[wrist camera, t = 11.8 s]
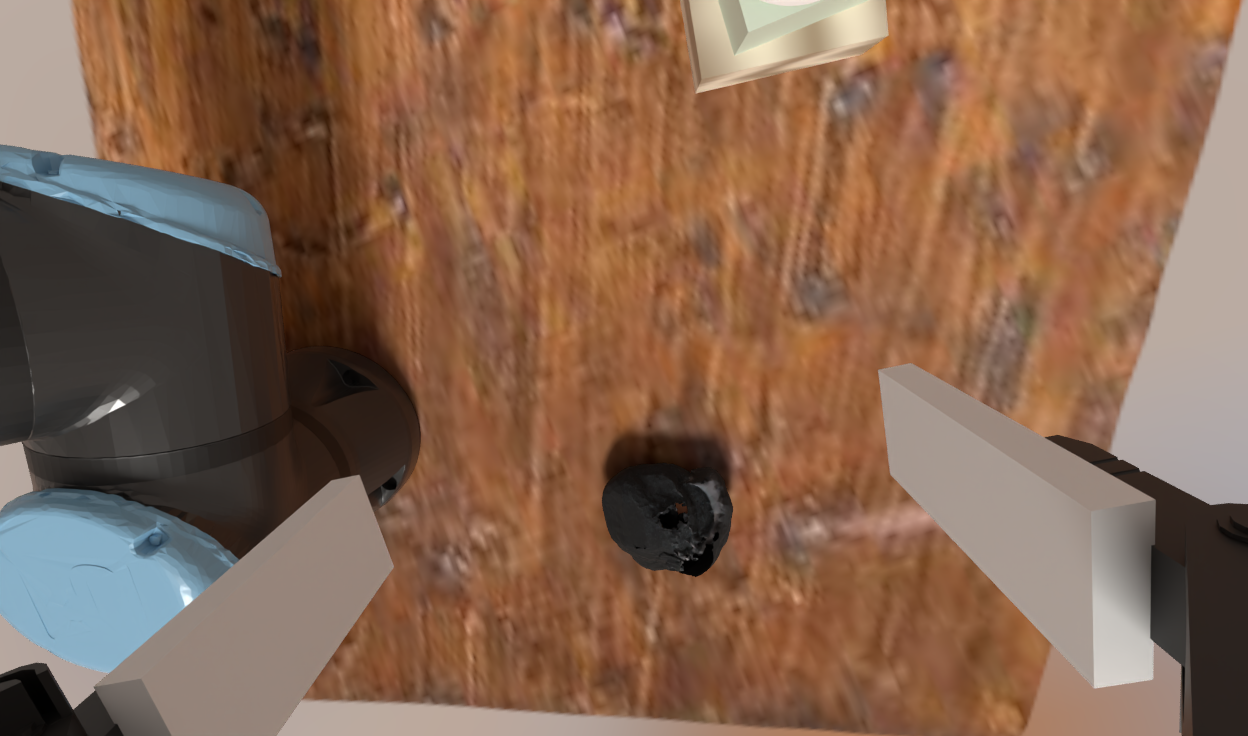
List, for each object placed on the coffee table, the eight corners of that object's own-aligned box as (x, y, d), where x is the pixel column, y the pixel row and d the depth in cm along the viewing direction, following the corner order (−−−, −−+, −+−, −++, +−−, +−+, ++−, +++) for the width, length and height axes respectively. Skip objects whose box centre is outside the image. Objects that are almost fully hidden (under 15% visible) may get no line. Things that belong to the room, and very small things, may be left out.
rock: (682, 491, 57) (587, 516, 53) (712, 436, 49) (605, 460, 46) (724, 581, 52) (622, 615, 48) (765, 534, 44) (648, 570, 41)
